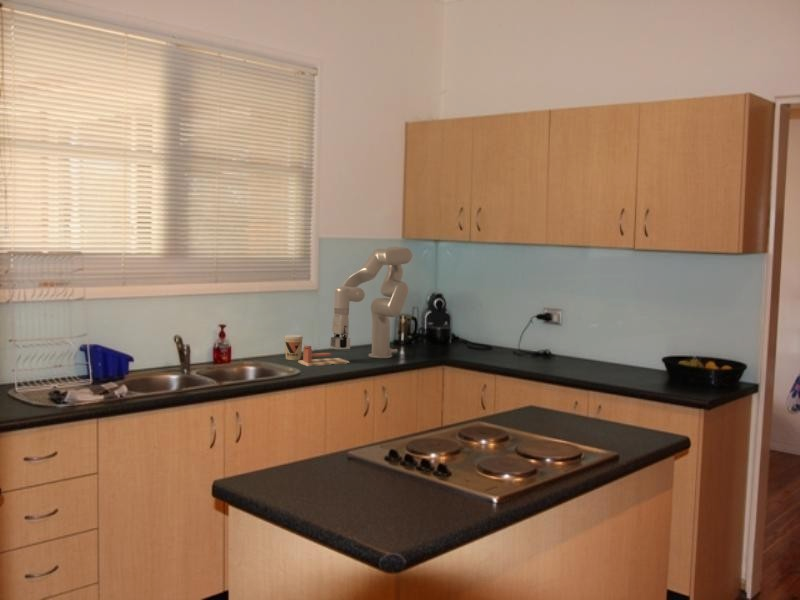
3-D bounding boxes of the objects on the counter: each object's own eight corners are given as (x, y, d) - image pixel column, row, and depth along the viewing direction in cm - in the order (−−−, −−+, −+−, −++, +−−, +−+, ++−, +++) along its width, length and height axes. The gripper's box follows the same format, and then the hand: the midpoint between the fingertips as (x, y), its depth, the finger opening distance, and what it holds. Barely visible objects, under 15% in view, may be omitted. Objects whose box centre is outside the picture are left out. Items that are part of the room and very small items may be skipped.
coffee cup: (282, 360, 426) (283, 336, 425) (285, 357, 436) (286, 334, 435) (300, 360, 426) (301, 337, 425) (303, 357, 435) (304, 334, 434)
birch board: (339, 359, 432) (339, 357, 432) (349, 363, 422) (349, 361, 421) (298, 362, 420) (298, 360, 420) (307, 366, 410) (307, 364, 410)
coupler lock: (344, 347, 430) (344, 336, 429) (349, 348, 424) (350, 338, 423) (330, 347, 426) (330, 337, 425) (335, 349, 420) (336, 338, 419)
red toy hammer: (327, 359, 425) (327, 344, 424) (332, 361, 420) (332, 345, 419) (301, 361, 418) (301, 345, 417) (306, 363, 413) (306, 347, 412)
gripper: (327, 310, 429) (326, 344, 430) (342, 313, 414) (341, 349, 415) (340, 310, 433) (339, 344, 434) (355, 313, 418) (354, 348, 419)
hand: (340, 346), depth 425 cm, fingers closed on coupler lock, 6 cm apart
